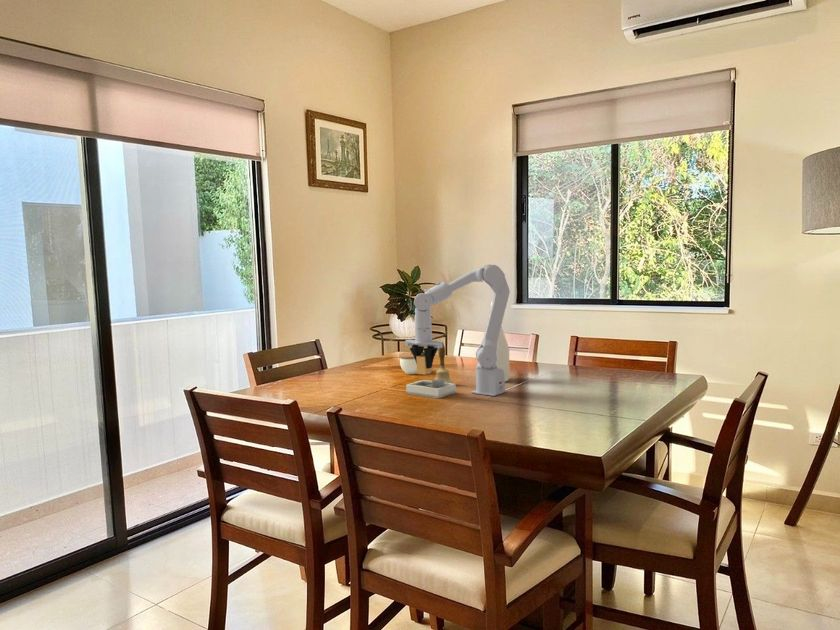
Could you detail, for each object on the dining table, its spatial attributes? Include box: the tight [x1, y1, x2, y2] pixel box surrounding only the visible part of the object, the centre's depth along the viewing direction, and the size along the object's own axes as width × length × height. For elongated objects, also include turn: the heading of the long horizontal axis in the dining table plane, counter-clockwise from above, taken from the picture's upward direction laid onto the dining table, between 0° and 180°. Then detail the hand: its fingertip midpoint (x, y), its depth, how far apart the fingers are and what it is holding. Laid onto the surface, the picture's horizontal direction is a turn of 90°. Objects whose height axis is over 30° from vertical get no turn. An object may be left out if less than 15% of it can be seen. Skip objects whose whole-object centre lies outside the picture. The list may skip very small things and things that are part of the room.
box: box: [405, 379, 457, 399], centre depth 212 cm, size 14×10×5 cm
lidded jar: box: [398, 351, 418, 375], centre depth 252 cm, size 11×11×9 cm
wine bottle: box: [490, 300, 511, 383], centre depth 230 cm, size 10×10×30 cm
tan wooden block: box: [416, 351, 432, 375], centre depth 210 cm, size 4×4×7 cm
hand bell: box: [434, 341, 455, 384], centre depth 226 cm, size 8×8×16 cm
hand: (424, 367), depth 210 cm, fingers closed on tan wooden block, 3 cm apart
